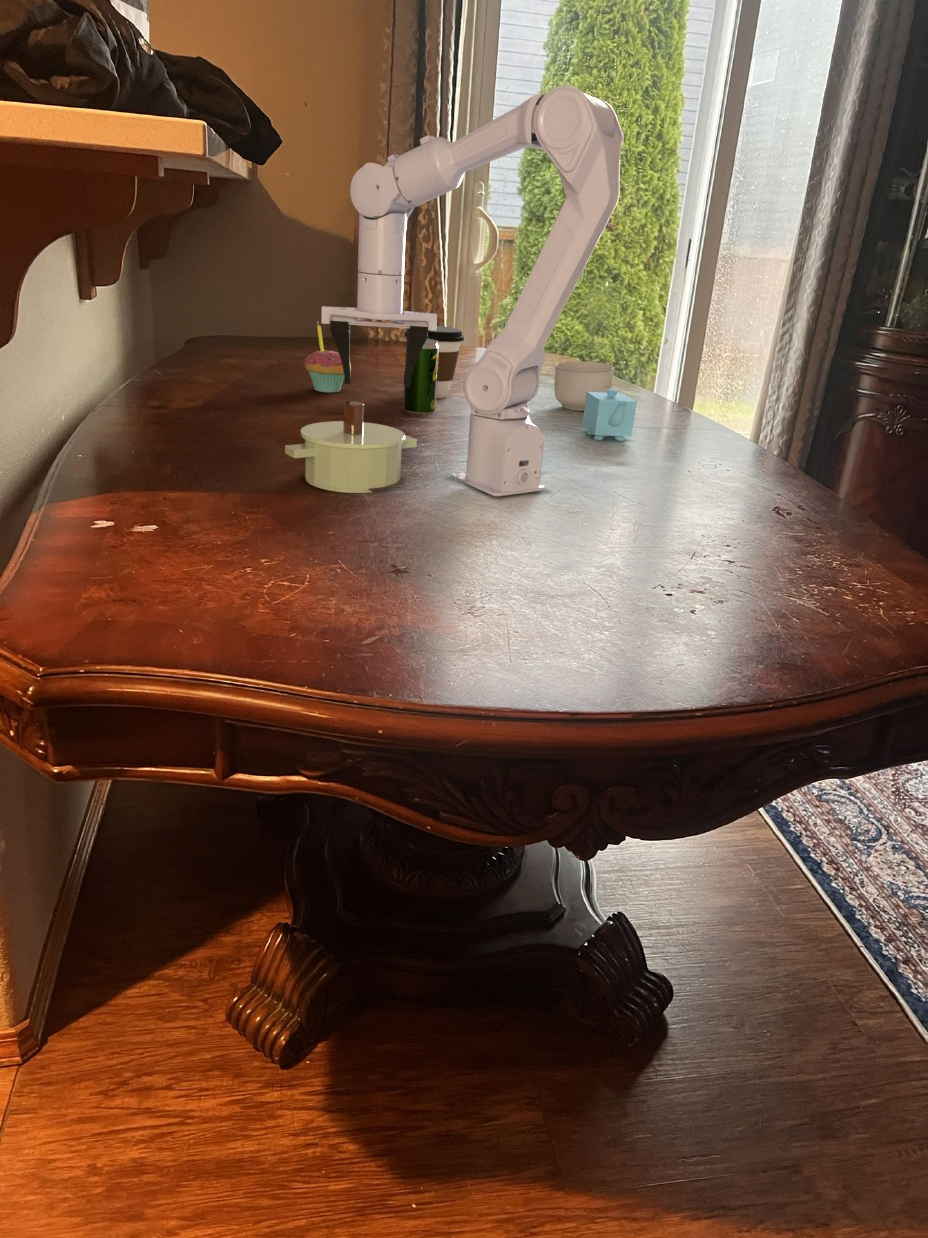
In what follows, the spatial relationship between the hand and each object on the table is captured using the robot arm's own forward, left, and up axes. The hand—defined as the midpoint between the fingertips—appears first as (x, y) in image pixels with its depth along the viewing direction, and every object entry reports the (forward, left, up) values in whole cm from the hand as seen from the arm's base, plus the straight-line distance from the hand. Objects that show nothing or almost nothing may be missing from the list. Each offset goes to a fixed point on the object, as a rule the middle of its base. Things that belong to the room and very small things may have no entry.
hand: (377, 384), depth 117 cm
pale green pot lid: (-8, +8, -4) cm, 12 cm away
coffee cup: (+38, -35, -10) cm, 53 cm away
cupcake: (+47, -18, -10) cm, 51 cm away
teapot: (-1, -43, -10) cm, 44 cm away
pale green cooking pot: (-8, +8, -10) cm, 15 cm away
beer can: (+24, -23, -10) cm, 35 cm away
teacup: (+21, -57, -10) cm, 62 cm away
